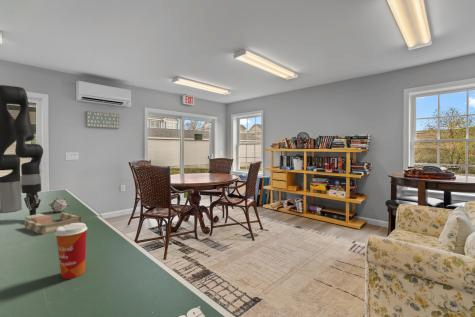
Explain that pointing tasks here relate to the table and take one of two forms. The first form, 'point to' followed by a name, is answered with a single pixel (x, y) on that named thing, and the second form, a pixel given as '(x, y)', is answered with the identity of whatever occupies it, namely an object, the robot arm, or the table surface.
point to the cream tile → (32, 216)
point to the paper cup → (72, 249)
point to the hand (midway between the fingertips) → (33, 216)
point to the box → (52, 227)
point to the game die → (58, 205)
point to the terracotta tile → (42, 219)
